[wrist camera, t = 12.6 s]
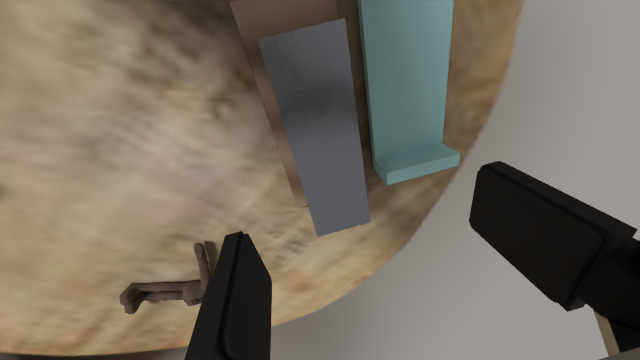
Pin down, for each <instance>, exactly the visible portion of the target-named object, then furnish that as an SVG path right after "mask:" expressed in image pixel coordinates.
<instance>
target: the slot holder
mask: <svg viewBox="0 0 640 360" xmlns="http://www.w3.org/2000/svg"><path fill="white" fill-rule="evenodd" d="M357 5H358V15H359V25H360V35H361V46H362V56H363V66H364V76H365V87H366V97H367V107H368V117H369V127H370V138H371V148H372V158H373V168H374V170H375V171H376V172H377V173H378V174H379V176H380V177H381V178H382V179H383V181H384V182H385V183H386V184H387V185H391V184H394V183H398V182H402V181H405V180H409V179H413V178H416V177H420V176H423V175H427V174H431V173H434V172H438V171H442V170H445V169H449V168H452V167H456V166H459V160H460V153H459V152H457V151H456V150H454V149H452V148H450V147H449V146H447V145H445V144H443V143H442V141H443V128H444V116H445V104H446V91H447V79H448V67H449V54H450V42H451V29H452V17H453V5H454V0H357Z"/></svg>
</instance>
